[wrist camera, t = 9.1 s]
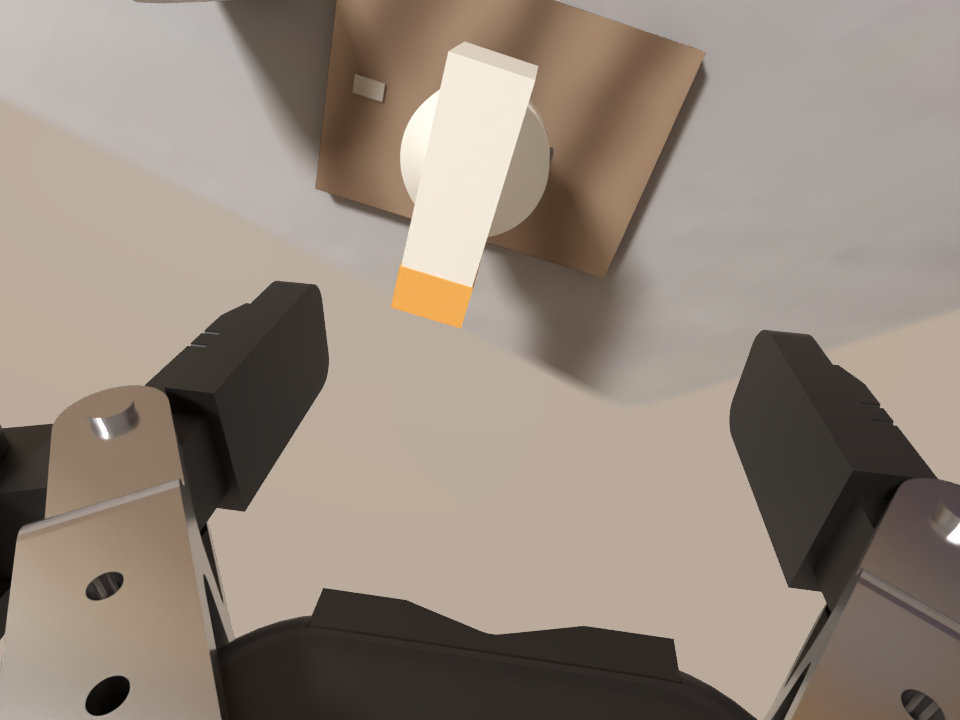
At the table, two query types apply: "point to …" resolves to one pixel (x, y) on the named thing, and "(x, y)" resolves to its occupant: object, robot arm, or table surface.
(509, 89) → the twist knob
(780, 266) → the table surface
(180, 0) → the can
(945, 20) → the table surface
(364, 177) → the lock base
